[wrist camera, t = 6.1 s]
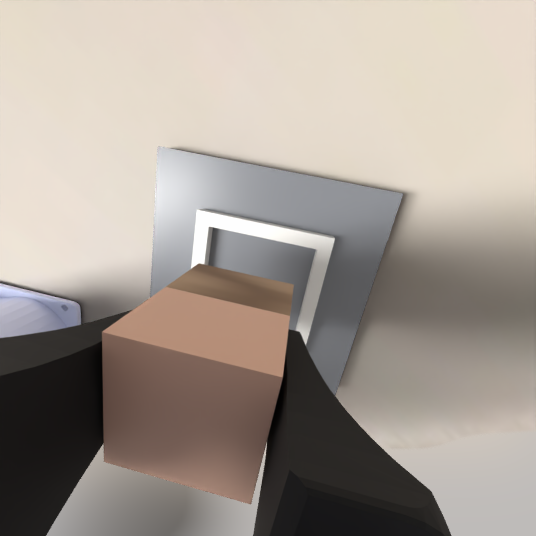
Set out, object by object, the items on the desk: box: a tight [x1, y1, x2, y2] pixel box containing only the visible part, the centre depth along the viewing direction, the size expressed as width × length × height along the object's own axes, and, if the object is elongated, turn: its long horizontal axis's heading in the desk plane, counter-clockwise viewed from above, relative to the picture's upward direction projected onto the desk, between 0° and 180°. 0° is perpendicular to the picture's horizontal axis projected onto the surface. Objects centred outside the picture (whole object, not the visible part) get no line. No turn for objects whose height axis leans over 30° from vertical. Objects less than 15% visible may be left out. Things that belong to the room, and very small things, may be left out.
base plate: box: [150, 146, 403, 395], centre depth 17 cm, size 14×14×2 cm
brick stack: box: [102, 263, 294, 504], centre depth 10 cm, size 4×4×6 cm
